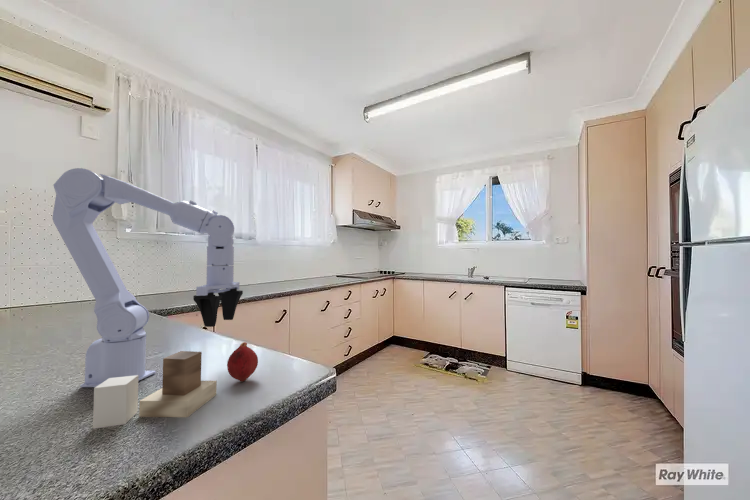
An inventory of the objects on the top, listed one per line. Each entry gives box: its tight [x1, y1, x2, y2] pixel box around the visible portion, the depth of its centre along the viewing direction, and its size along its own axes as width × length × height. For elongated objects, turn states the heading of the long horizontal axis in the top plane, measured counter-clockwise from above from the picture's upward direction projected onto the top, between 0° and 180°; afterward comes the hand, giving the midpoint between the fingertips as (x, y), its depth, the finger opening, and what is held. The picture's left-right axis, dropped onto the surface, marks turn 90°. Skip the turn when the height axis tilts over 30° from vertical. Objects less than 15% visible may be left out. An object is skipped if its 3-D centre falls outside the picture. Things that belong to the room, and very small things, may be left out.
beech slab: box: [138, 380, 218, 418], centre depth 51 cm, size 8×8×3 cm
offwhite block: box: [92, 375, 139, 429], centre depth 46 cm, size 4×4×6 cm
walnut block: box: [161, 350, 202, 396], centre depth 51 cm, size 4×4×6 cm
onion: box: [226, 341, 259, 383], centre depth 61 cm, size 6×6×8 cm
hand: (219, 322), depth 69 cm, fingers open, 7 cm apart
